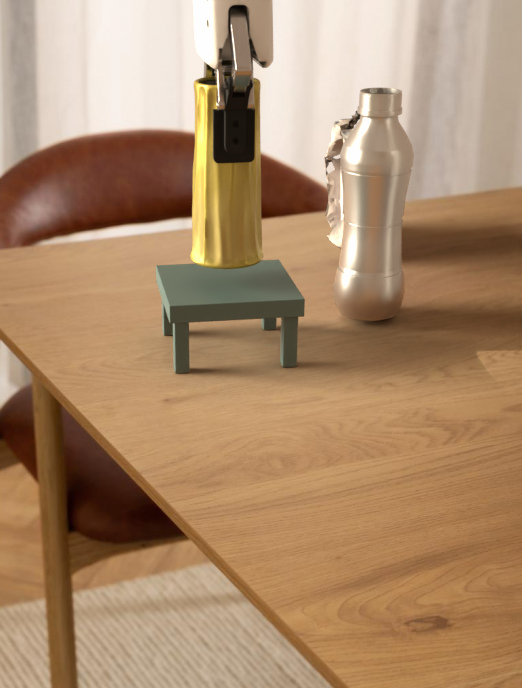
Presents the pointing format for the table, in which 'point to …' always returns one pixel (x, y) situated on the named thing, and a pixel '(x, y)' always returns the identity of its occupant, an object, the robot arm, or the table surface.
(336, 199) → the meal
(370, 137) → the silver water bottle
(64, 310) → the table surface
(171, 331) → the stool
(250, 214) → the vase
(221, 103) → the robot arm
